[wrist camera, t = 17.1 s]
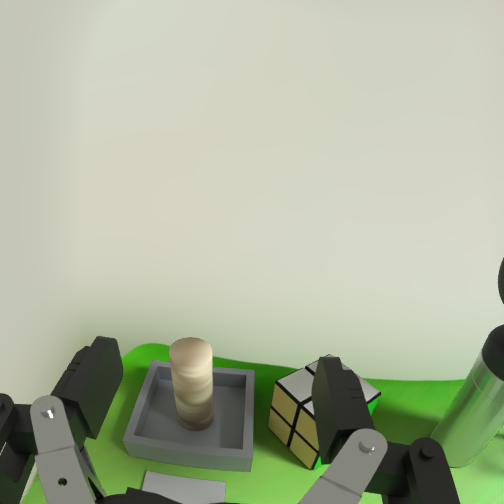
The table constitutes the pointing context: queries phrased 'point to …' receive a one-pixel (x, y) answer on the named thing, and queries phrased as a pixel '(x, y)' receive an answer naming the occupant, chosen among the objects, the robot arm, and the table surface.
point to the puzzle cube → (303, 412)
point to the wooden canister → (192, 382)
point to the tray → (194, 442)
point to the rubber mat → (185, 488)
